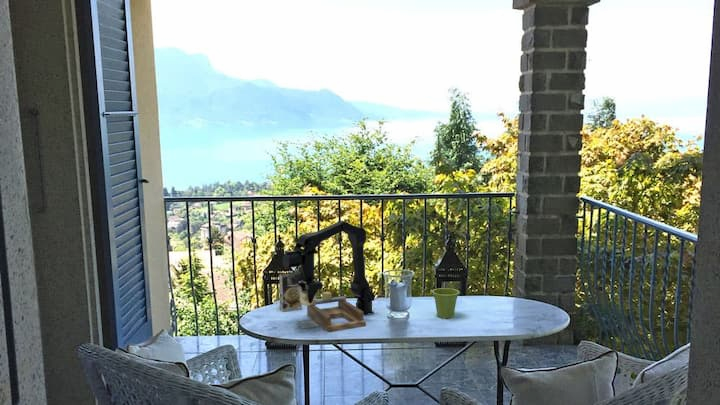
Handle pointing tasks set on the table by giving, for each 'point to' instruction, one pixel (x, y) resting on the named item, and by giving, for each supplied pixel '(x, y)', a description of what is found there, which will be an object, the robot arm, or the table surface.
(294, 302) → the coffee box
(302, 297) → the beech block
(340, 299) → the latch bar
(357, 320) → the puzzle board
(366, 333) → the table surface
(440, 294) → the plant pot
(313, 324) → the slate mat
